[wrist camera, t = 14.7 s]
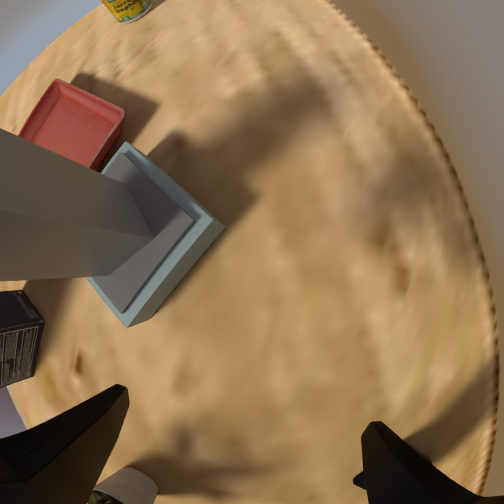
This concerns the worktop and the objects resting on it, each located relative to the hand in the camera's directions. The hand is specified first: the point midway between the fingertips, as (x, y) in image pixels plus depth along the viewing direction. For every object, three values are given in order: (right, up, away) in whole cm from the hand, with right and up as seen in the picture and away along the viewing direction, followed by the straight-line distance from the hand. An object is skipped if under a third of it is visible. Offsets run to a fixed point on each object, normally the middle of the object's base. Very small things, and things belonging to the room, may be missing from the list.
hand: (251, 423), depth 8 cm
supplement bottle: (-16, +39, +16) cm, 45 cm away
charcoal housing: (-9, +7, +9) cm, 15 cm away
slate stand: (-9, +7, +13) cm, 18 cm away
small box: (-29, -5, +16) cm, 33 cm away
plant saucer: (-23, +16, +16) cm, 32 cm away
